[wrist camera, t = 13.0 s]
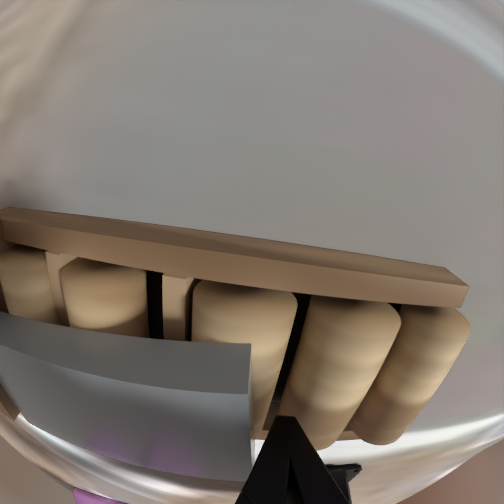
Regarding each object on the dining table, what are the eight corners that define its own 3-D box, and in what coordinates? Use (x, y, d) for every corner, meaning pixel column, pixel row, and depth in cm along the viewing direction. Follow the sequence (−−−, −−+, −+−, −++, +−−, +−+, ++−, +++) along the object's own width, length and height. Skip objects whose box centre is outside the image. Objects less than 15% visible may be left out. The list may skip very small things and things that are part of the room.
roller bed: (383, 412, 14) (398, 453, 10) (53, 358, 14) (27, 391, 10) (455, 269, 10) (499, 304, 7) (22, 208, 10) (-25, 227, 7)
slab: (254, 444, 10) (253, 481, 8) (43, 399, 10) (28, 422, 8) (251, 343, 8) (247, 394, 6) (-3, 310, 8) (-28, 331, 6)
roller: (169, 392, 12) (123, 430, 9) (125, 360, 14) (80, 389, 11) (165, 271, 10) (89, 304, 7) (112, 246, 11) (47, 268, 8)
